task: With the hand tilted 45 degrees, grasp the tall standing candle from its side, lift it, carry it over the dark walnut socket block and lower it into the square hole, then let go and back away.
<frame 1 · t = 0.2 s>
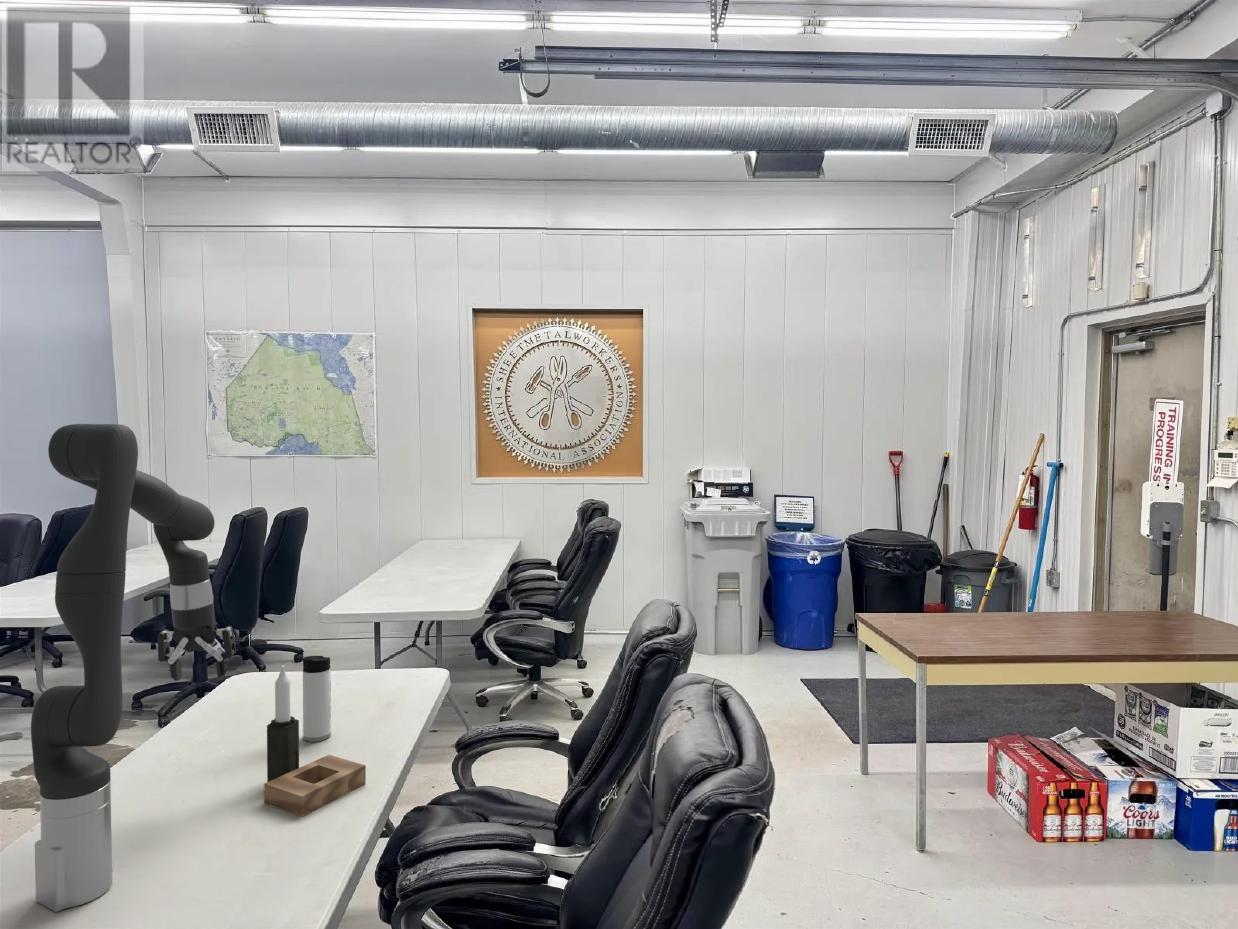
hand: (200, 678, 159), 23 cm above the table, tool pointing down, fingers open, 8 cm apart
travel mug: (316, 738, 187), on the table
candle: (283, 783, 163), on the table
socket block: (316, 793, 158), on the table
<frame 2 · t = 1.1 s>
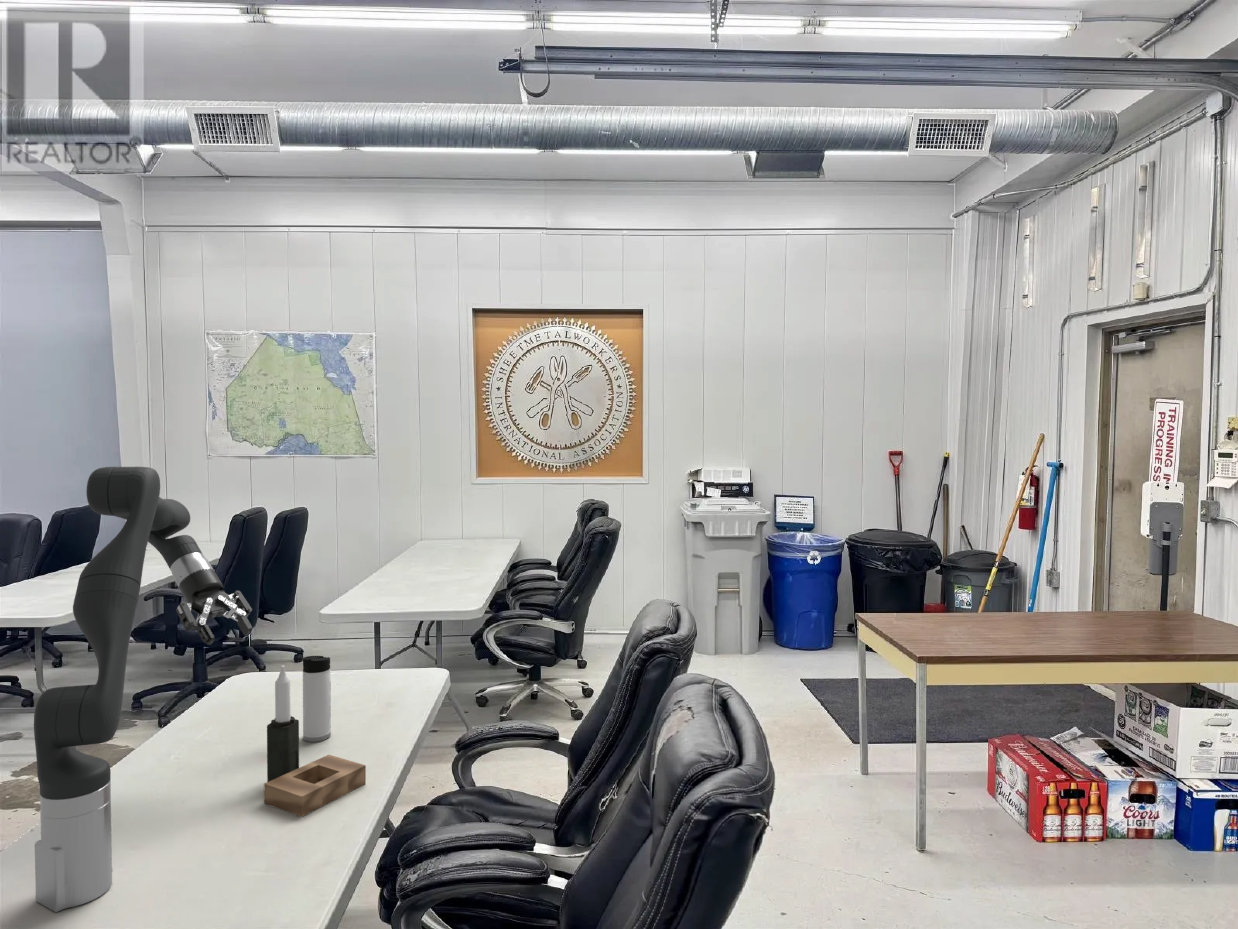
hand: (230, 637, 164), 30 cm above the table, tool tilted 45°, fingers open, 8 cm apart
nothing on the table moved.
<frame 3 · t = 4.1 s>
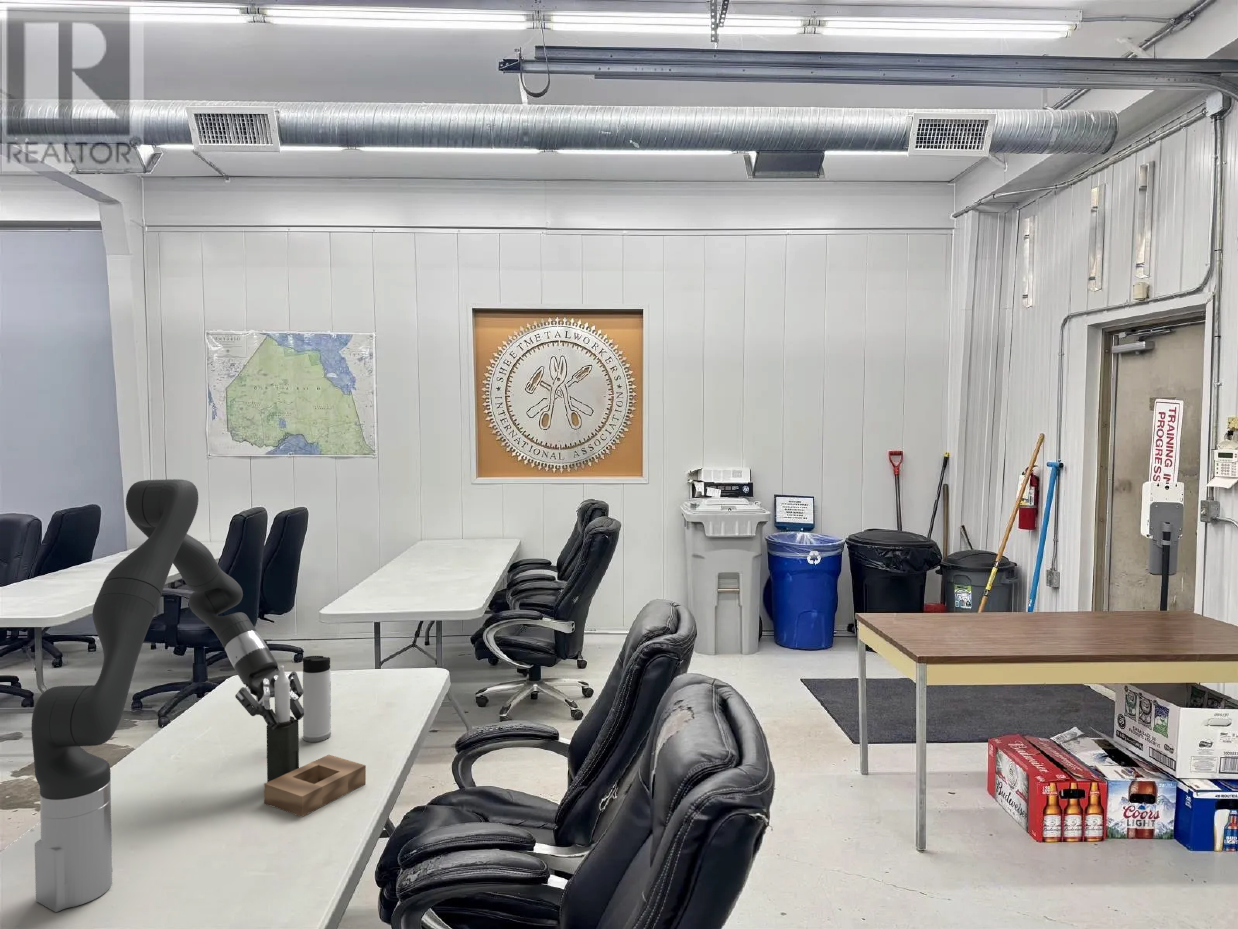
hand: (289, 722, 161), 13 cm above the table, tool tilted 45°, fingers closed on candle, 5 cm apart
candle: (283, 783, 163), on the table, touching gripper
everything else where it was.
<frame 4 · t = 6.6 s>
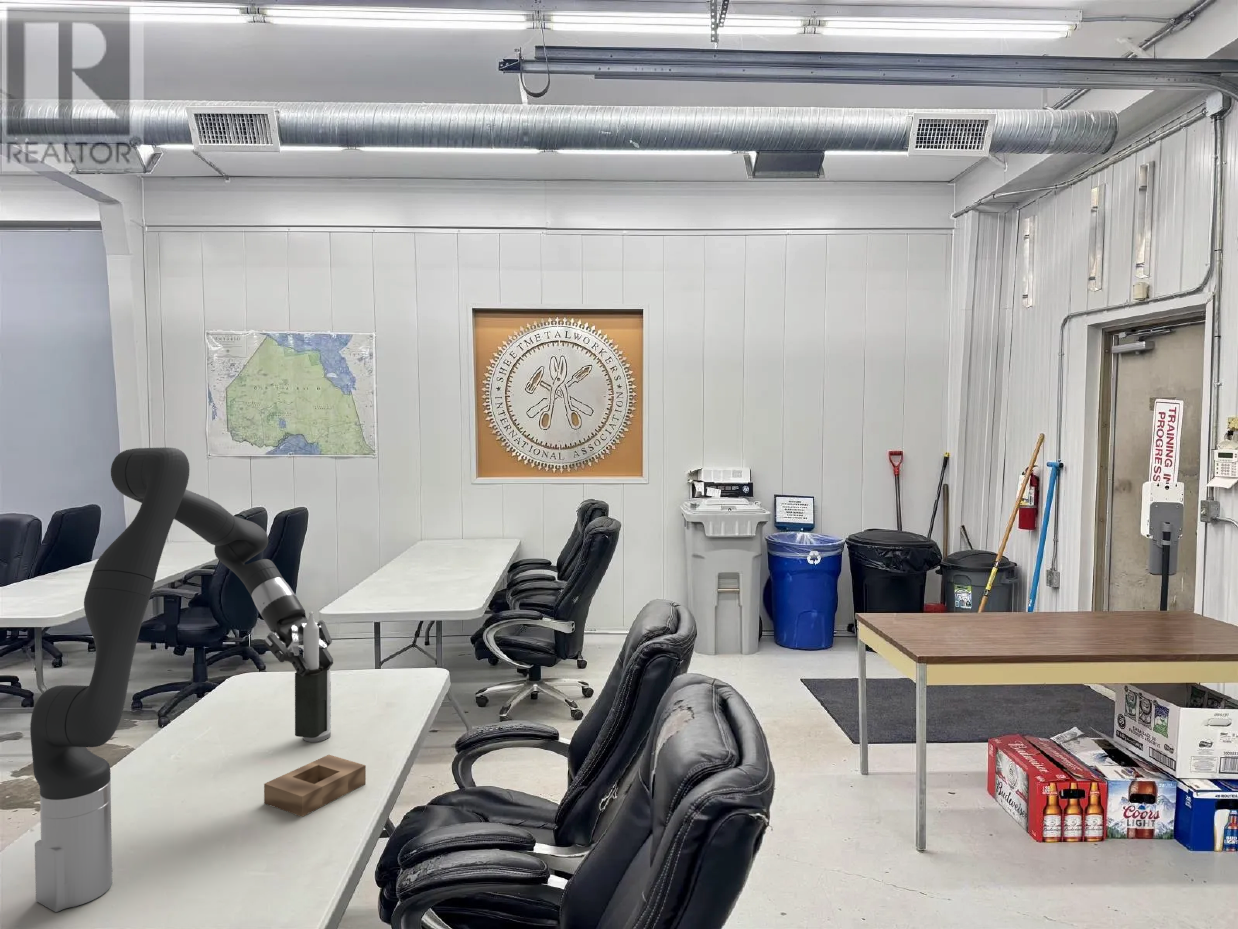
hand: (318, 669, 156), 26 cm above the table, tool tilted 45°, fingers closed on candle, 5 cm apart
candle: (311, 733, 158), point 12 cm above the table, touching gripper
everything else where it was.
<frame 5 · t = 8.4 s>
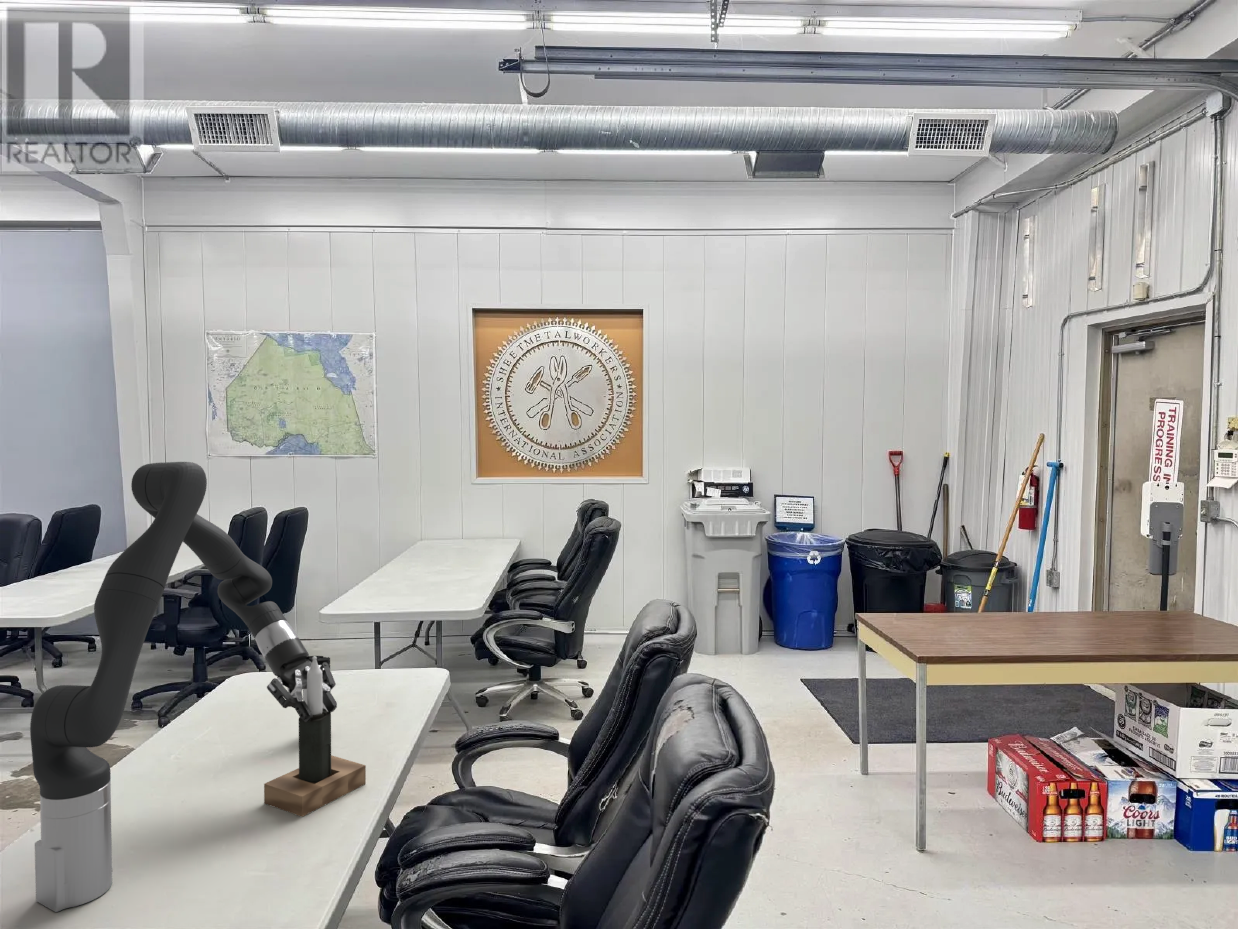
hand: (321, 714, 156), 17 cm above the table, tool tilted 45°, fingers closed on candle, 5 cm apart
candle: (315, 777, 158), point 3 cm above the table, touching gripper
everything else where it was.
when the fingers open (14 cm above the table, at t = 9.4 s): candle drops 1 cm, resting in socket block.
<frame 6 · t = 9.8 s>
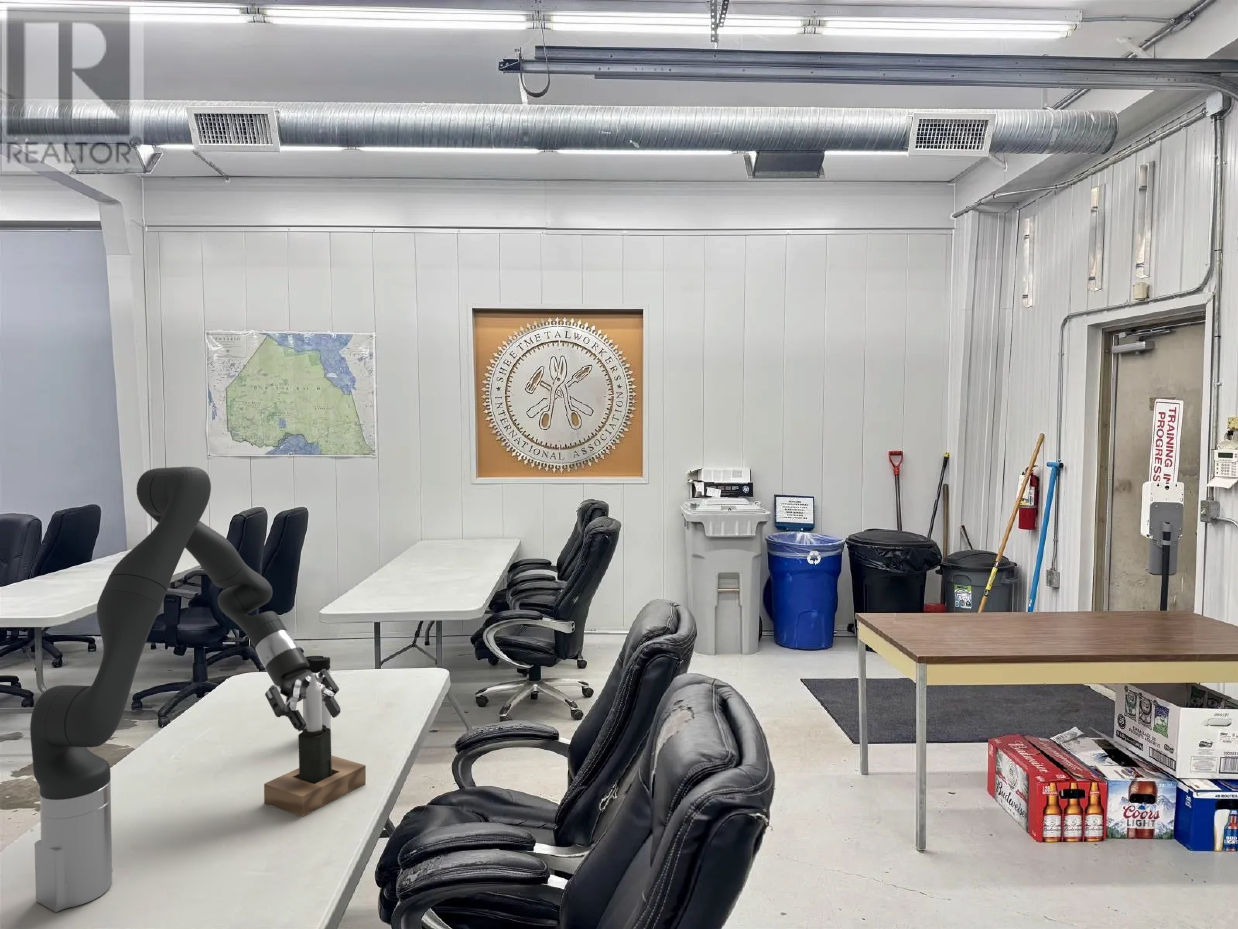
hand: (320, 721, 157), 15 cm above the table, tool tilted 45°, fingers open, 8 cm apart
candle: (316, 793, 158), resting in socket block
everything else where it was.
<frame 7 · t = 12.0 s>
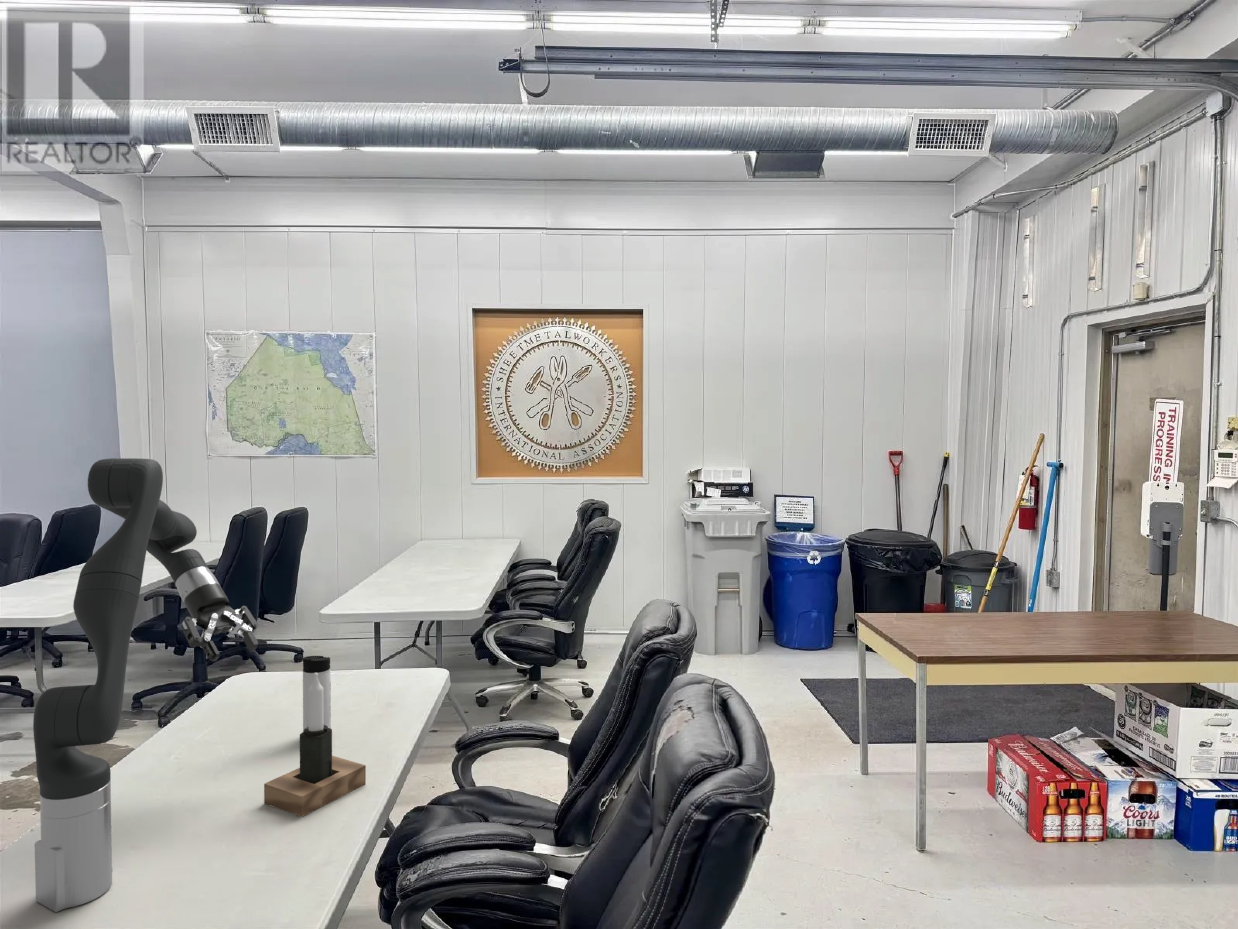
hand: (236, 653, 160), 28 cm above the table, tool tilted 45°, fingers open, 8 cm apart
nothing on the table moved.
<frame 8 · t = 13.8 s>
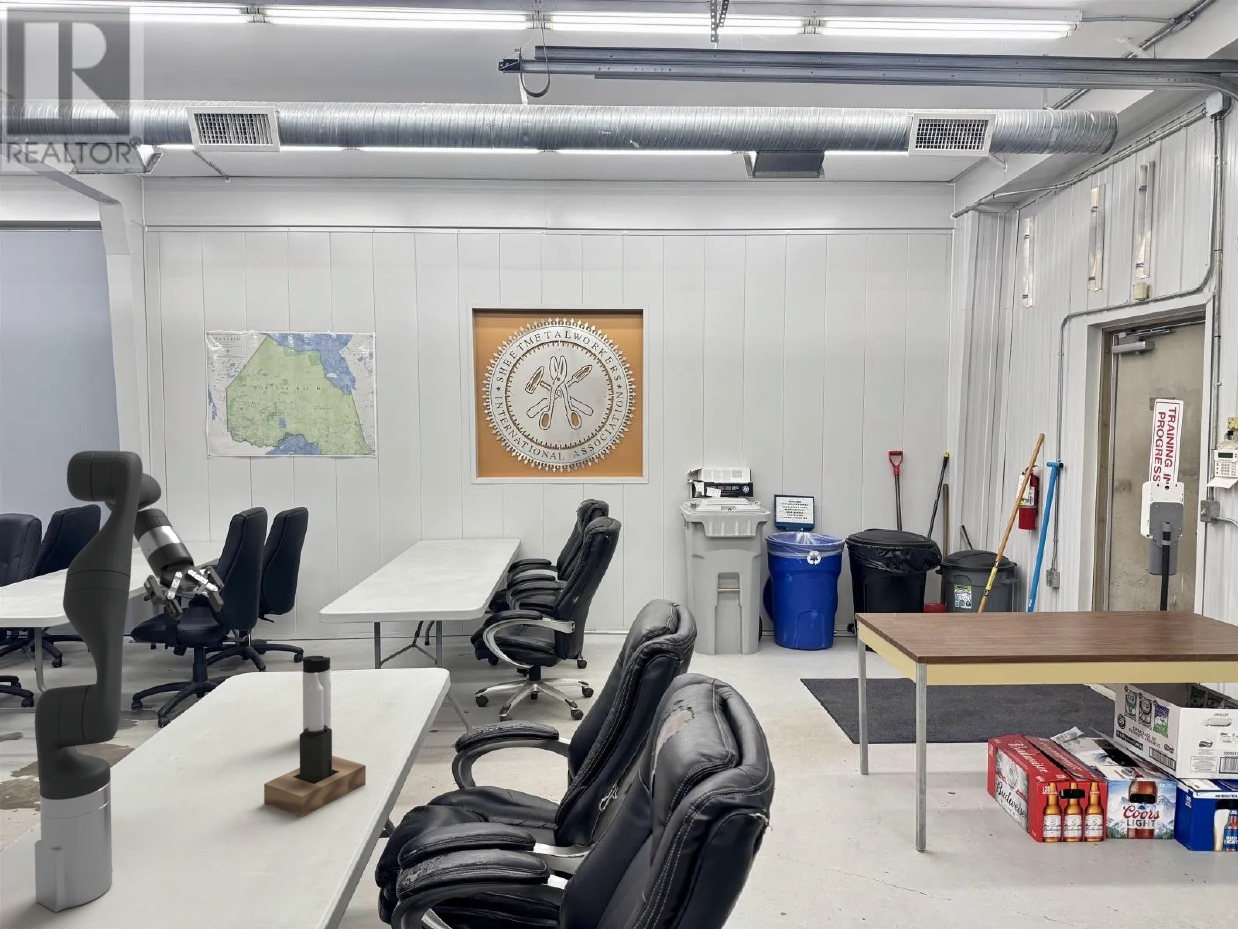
hand: (200, 613, 158), 37 cm above the table, tool tilted 45°, fingers open, 8 cm apart
nothing on the table moved.
at the end: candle 0.2 cm off-centre on the socket block, point 0.0 cm above the socket block's base; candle tilted 0°; the gripper is holding nothing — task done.
